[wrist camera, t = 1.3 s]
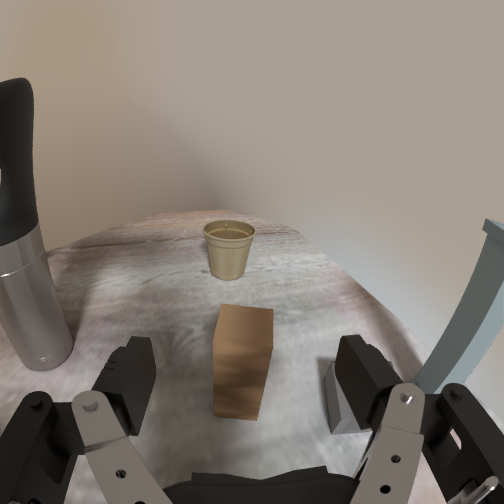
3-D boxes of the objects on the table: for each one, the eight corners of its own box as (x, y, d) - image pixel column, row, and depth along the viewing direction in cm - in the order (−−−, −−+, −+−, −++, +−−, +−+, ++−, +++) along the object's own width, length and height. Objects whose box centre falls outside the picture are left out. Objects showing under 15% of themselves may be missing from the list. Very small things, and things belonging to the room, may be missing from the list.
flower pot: (193, 265, 53) (193, 222, 49) (235, 255, 58) (238, 216, 54) (216, 291, 46) (217, 244, 42) (262, 278, 51) (267, 234, 47)
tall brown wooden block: (213, 415, 26) (212, 339, 20) (219, 384, 30) (221, 303, 24) (256, 420, 26) (273, 346, 20) (258, 388, 30) (273, 309, 24)
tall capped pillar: (331, 434, 24) (433, 226, 14) (323, 379, 31) (385, 190, 21) (449, 416, 24) (552, 255, 13) (431, 373, 31) (506, 222, 20)
